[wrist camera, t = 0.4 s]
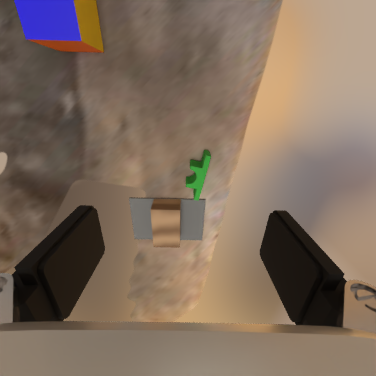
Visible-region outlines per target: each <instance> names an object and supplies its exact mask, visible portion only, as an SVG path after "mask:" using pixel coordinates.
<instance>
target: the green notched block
mask: <svg viewBox="0 0 376 376" xmlns="http://www.w3.org/2000/svg"><path fill="white" fill-rule="evenodd" d="M210 159H211V155H210V152H209V151H207V150H204V153H203V157H202V161H201V162H199V161H195V160H190V169H191V170H193V171H194V172H195V174H194V175H192V176H190V177H186V187H189V188H194V191H193V192H194V200H197V201H199V197H200V194H201V190H202V187H203V183H204V180H205V176H206V173H207V169H208V166H209V162H210Z"/></svg>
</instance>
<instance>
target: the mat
mask: <svg viewBox="0 0 376 376" xmlns="http://www.w3.org/2000/svg"><path fill="white" fill-rule="evenodd" d="M154 199H173V198H129V201H130V208H131V216H132V222H133V230H134V237H135V239H153V234H152V222H151V206H152V203H153V200H154ZM204 210H205V199H199V201H197V200H194V199H181V217H180V240H202V235H203V223H204Z"/></svg>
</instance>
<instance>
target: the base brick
mask: <svg viewBox="0 0 376 376" xmlns="http://www.w3.org/2000/svg"><path fill="white" fill-rule="evenodd" d="M180 217H181V199H154V200H153V203H152V206H151V222H152V234H153V246H154V247H180Z"/></svg>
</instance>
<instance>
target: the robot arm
mask: <svg viewBox="0 0 376 376" xmlns="http://www.w3.org/2000/svg"><path fill="white" fill-rule="evenodd" d="M104 251H105V246H104V241H103V237H102V232H101V227H100V223H99V218H98V213H97V210H96V209H95V208H94V207H93V206H85V205H84V206H83V205H81V206H79V207H77V208H76V209H75V210H74V211H73V212H72V213H71V214H70V215H69V216H68V217H67V218H66V219H65V220H64V221H63V222H62V223H61V224H60V225H59V226H58V227H56V228H55V229H54V230H53V231H52V232H51V233H50V234H49V235H48V236H47V237H46V238H45V239H44V240H43V241H42V242H41V243H40V244H38V245H37V246H36V247H35V248H34V249H33V250H32V251H31V252H30V253H29V254H28V255H27V256H26V257H25V258H24V259H23V260H22V261H21V262H20V263H18V264H17V265H16V266H15V267H14V268H15V269H16V271H15V272H14V273H13V274H12V275H10V274H8V273H0V376H376V287H374V286H372V285H370V284H368V283H365V282H363V281H359V280H349V281H346V280H345V279H344V278H343V276H344V273H343V272H342V271H341V270H340V269H339V267H338V266H336V264H335V263H334V262H333V261H332V260H331V259H330V258H329V257H328V255H326V253H325V252H324V251H323V250H322V249H321V248H320V247H319V246H318V245H317V244H316V243H315V241H314V240H313V239H312V238H311V237H310V236H309V235H308V234H307V233H306V232H305V231H304V229H303V228H302V227H301V226H300V225H299V224H298V223H297V222H296V221H295V220H294V219H293V217H292V216H291V215H290V214H289V213H288V212H287V211H273V213H270V215H269V219H268V222H267V226H266V230H265V234H264V238H263V241H262V245H261V249H260V256H261V259H262V261H263V263H264V265H265V267H266V269H267V271H268V273H269V276H270V278H271V280H272V282H273V284H274V286H275V288H276V290H277V292H278V294H279V297H280V299H281V301H282V303H283V305H284V307H285V309H286V311H287V313H288V316H289V318H290V319H291V320H292V322H295V324H296V325H283V324H278V325H277V324H236V323H235V324H234V323H180V322H95V321H94V322H92V321H63V320H64V319H66V318H67V317H68V316H69V315H70V313H71V311H72V310H73V308H74V306H75V304H76V302H77V301H78V299H79V297H80V295H81V293H82V292H83V290H84V288H85V286H86V284H87V283H88V281H89V279H90V277H91V276H92V274H93V272H94V270H95V268H96V266H97V265H98V263H99V261H100V259H101V258H102V256H103V254H104Z"/></svg>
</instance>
